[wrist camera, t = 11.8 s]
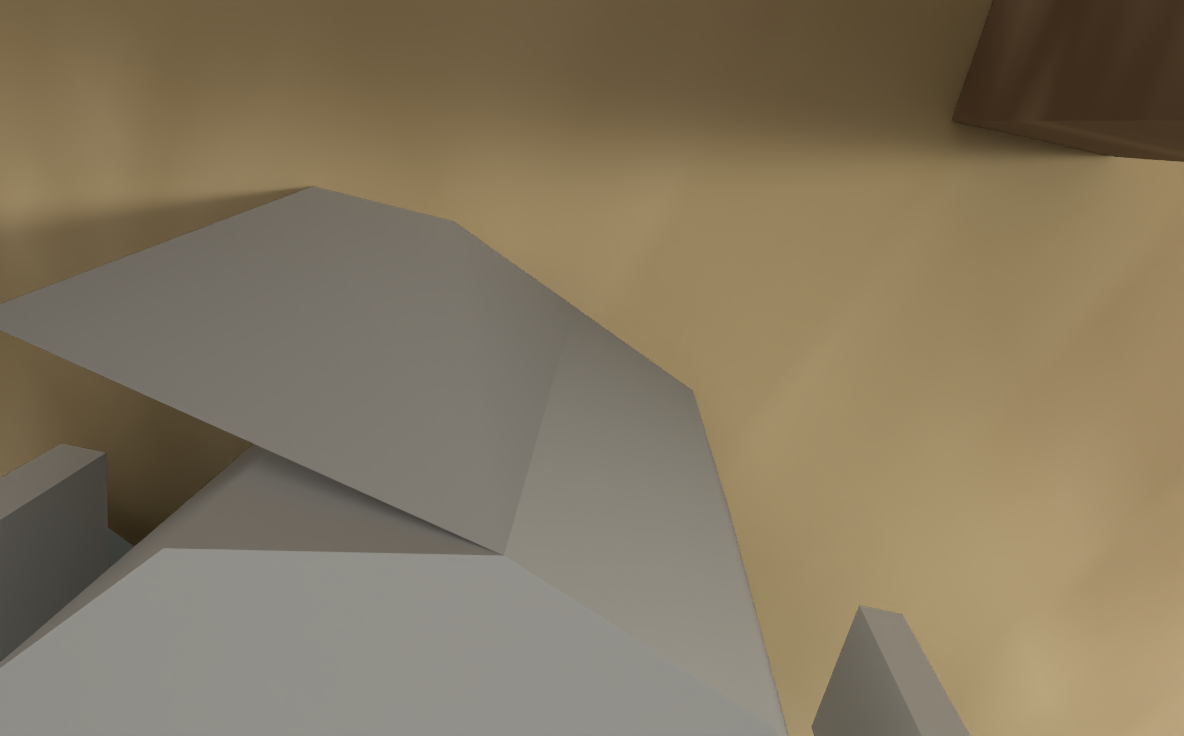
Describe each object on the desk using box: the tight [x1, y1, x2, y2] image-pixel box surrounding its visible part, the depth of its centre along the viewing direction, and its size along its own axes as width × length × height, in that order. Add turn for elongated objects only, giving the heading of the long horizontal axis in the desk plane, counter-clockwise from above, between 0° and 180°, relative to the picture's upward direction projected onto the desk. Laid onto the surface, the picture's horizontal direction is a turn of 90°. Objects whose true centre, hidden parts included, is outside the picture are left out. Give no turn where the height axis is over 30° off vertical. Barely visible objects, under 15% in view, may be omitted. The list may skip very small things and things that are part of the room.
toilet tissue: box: [0, 186, 789, 736], centre depth 11 cm, size 9×13×9 cm
